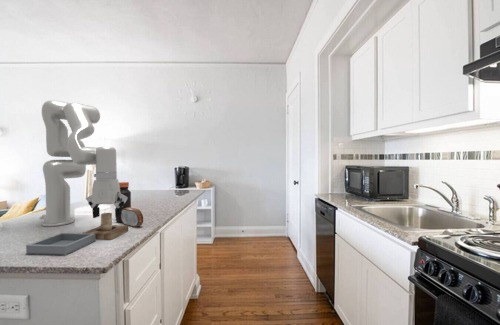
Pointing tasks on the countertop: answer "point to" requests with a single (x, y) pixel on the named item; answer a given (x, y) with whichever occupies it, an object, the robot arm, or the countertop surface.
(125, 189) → the bottle
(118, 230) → the holder
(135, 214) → the tin
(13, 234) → the countertop surface
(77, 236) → the tray
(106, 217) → the dowel
